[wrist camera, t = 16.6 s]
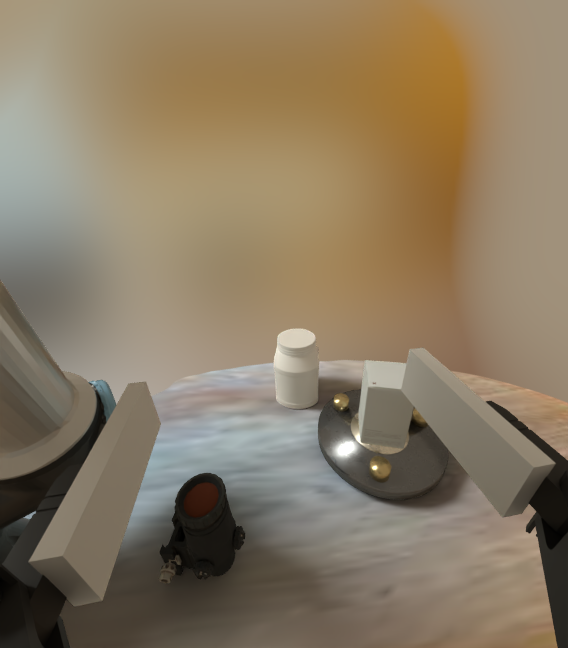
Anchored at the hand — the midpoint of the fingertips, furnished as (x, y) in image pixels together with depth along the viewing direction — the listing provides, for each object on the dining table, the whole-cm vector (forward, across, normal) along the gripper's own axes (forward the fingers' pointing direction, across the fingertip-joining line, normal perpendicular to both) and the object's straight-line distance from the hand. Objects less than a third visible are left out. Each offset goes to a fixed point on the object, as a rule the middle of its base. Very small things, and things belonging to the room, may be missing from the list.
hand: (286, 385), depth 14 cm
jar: (+38, +8, -35) cm, 52 cm away
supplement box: (+21, +19, -31) cm, 42 cm away
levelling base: (+21, +19, -35) cm, 45 cm away
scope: (+8, -10, -35) cm, 37 cm away
